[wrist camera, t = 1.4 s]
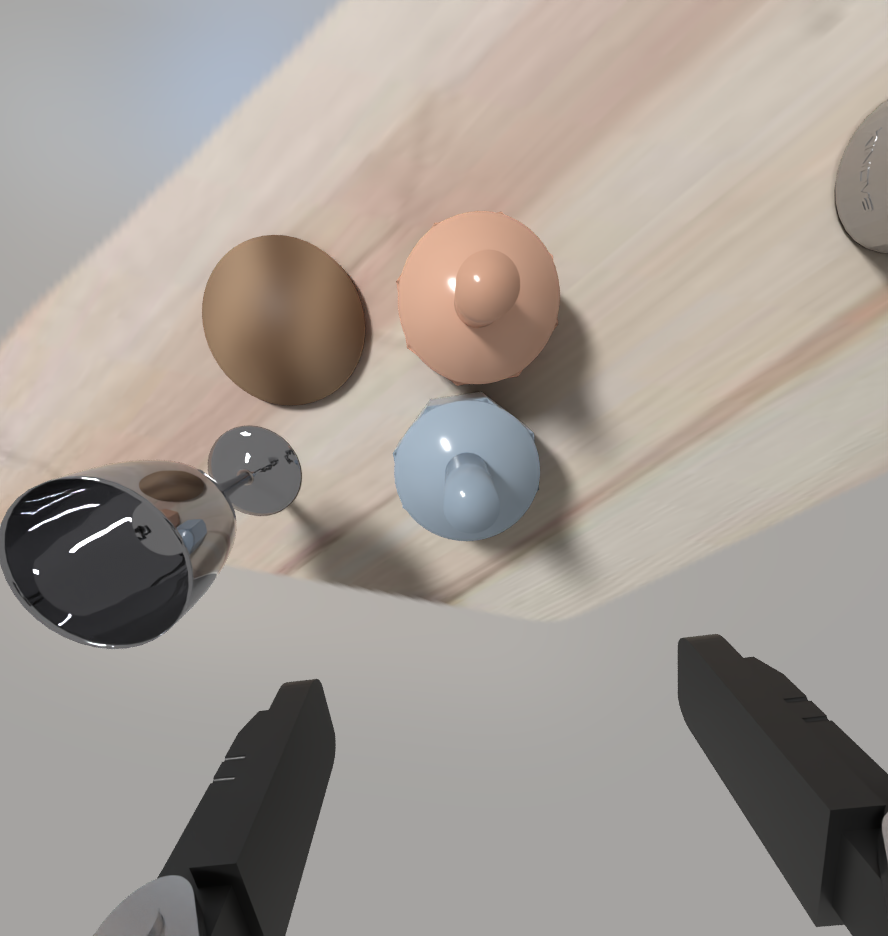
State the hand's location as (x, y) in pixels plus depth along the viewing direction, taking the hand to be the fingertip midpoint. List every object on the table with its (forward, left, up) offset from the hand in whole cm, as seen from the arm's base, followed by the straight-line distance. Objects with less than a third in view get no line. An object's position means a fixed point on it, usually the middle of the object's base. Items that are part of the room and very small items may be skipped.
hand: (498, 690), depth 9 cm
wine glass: (+16, -1, -23) cm, 28 cm away
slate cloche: (0, 0, -23) cm, 23 cm away
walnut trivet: (+11, -11, -23) cm, 28 cm away
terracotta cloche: (-2, -10, -23) cm, 25 cm away
